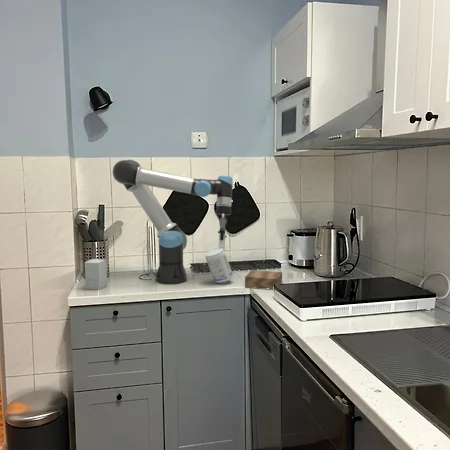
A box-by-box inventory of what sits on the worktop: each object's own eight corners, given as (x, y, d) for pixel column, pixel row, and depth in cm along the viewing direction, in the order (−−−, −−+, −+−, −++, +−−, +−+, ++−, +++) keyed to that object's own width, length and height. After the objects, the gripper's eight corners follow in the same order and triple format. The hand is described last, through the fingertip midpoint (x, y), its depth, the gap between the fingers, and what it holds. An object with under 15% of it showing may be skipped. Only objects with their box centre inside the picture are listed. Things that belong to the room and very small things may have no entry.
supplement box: (107, 286, 218) (107, 259, 216) (99, 290, 211) (98, 262, 209) (93, 284, 220) (92, 258, 218) (85, 289, 213) (84, 261, 211)
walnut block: (244, 287, 216) (245, 276, 216) (251, 279, 230) (251, 269, 229) (277, 289, 212) (277, 279, 211) (282, 282, 226) (282, 272, 225)
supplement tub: (224, 274, 231) (214, 247, 228) (237, 274, 224) (227, 247, 221) (210, 283, 225) (200, 255, 222) (223, 284, 218) (213, 255, 215)
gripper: (231, 202, 221) (229, 246, 218) (231, 211, 246) (229, 251, 243) (215, 201, 221) (213, 245, 218) (217, 210, 246) (214, 250, 243)
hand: (221, 249), depth 230 cm, fingers open, 13 cm apart
